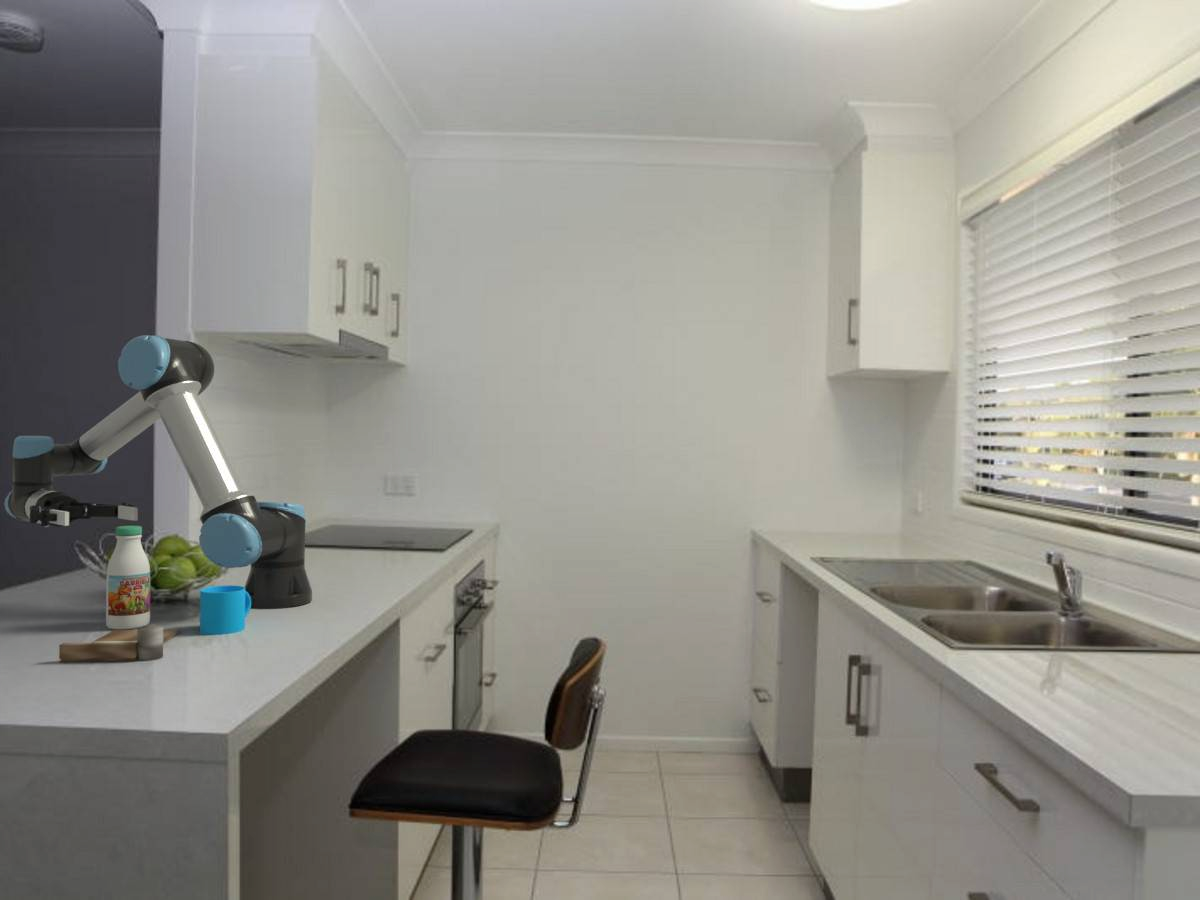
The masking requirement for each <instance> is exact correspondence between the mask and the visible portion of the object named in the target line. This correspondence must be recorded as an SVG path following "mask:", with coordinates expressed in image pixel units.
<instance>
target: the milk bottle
mask: <svg viewBox="0 0 1200 900" xmlns="http://www.w3.org/2000/svg"><path fill="white" fill-rule="evenodd" d="M142 534H143V527H142V526H140V525H124V526H123V525H122V526H121V525H120V526H117V527H116V528H115V539H116V544H115V548H114V550H113V553H112V554H111V556H110V558H109V561H108V563H107V567H106V569H107V570H106V580H105V583H106V587H105V588H106V589H105V626H106V628H107V629H108V630H109V629H110V630H135V629H139V628H142V627H148V626H149V624H150V622H151V567H150V562H149V558H148V556H147V554H146V552H145V551H144V549H143V545H142V541H141V539H142V537H143V535H142Z"/></svg>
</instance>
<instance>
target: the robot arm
mask: <svg viewBox="0 0 1200 900" xmlns="http://www.w3.org/2000/svg"><path fill="white" fill-rule="evenodd" d="M117 364H118V365H117V366H118V374H119V377H120V378H121V380H122V382H123V383H124V384H125V385H126V386H128V387H130V388H131V389H134V390H138V392H137V393H136V394H134V395H133V396H132V397H131V398H129V399H128V400H127V401H126V402H124V403H122V405H120V406H119V407H117V408H116V409H115V410H114V411H112V412H110V414H108V415H107V416H105V417H104V418H103V419H102V420H101V421H99V422H98V423H96V425H94V426H93V427H91V428H90V429H89V430H88V431H86V432H85V433H84V434H82V435H81V436H80V437H78V438H77V439H75V440H74V441H72V442H71V443H54V439H53V437H51V436H47V435H19V436H17V437H16V438H14V441H13V446H12V447H13V449H12V454H11V455H12V486H11V487H12V489H11V491H10V492H9V493H8V494H7V496H6V497H5V500H4V509H5V511H6V512H7V514H9V515H10V516H11V518H15V519H17V520H19V521H23V522H25V523H26V522H28V523H31V524H40V526H41V527H44V528H48V527H55V528H56V527H57V528H60V527H67V526H70V524H72V523H73V522H74V521H76V520H77V521H78V520H83V519H84V520H88V519H93V518H97V517H98V518H103V517H105V518H117V519H121V520H127V521H133V522H134V521H136V522H137V521H138V520H139V519H138V517H139V514H138V513H139V512H138V511H139V510H138V507H133V505H132V504H126V503H127V502H125V501H123V502H121V504H119V503H99V502H83V501H82V502H81V501H78V500H77V499H76V498H75V497H74V496H73V495H72V494H69V493H67V492H62V491H56V490H53V485H54V483H53V482H54V477H65V476H66V477H68V476H88V475H89V476H90V475H95V474H98V473H100V472H101V471H103V470H104V469H105V467H106V464H108V458H109V457H110V456H111V455H113V454H115V452H117V451H118V450H120V449H122V447H124V446H125V445H126V444H128V443H129V442H131V441H132V440H133V439H134V438H136V437H137V436H138V435H140V434H141V433H143V432H144V431H145V430H147V429H148V428H149V427H150V426H152V425H153V424H155V423H156V422H158V420H160V419H161V421H162V423H163V425H164V427H165V429H166V431H167V433H168V435H169V437H170V439H171V441H172V442H171V443H172V444H173V446H174V449H175V451H176V452H177V454H178V456H179V459H180V461H181V463H182V465H183V467H184V469H185V471H186V473H187V475H188V478H189V480H190V483H191V484H192V486H193V488H194V491H195V492H196V495H197V497H198V499H199V502H200V503H201V505H202V508H203V509H202V511H201V514H200V515H199V520H200V521H201V524H202V525H201V528H200V530H199V532H200V534H199V537H198V542H199V547H200V548H201V551H202V553H203V554H204V556H205V557H206V558H207V559H208V560H209V561H210V562H211V563H213V564H214V565H216V566H218V567H222V568H226V569H232V568H233V569H234V568H245V567H249V566H250V570H249V573H248V577H247V580H246V582H245V585H244V587H245V591H246V592H247V593H248V594H249V595H250V597H251V608H256V609H257V608H258V609H276V608H277V609H278V608H279V609H281V608H282V609H283V608H289V607H290V608H292V607H297V606H301V605H305V604H308V603H311V602H312V601H313V590H312V587H311V583H310V581H309V580H310V579H309V578H308V574H307V571H306V568H305V567H306V566H305V556H306V554H305V552H306V548H305V547H306V522H307V518H306V512H305V511H306V510H305V507H304V506H303V505H302V504H301V503H292V502H279V501H278V502H277V501H276V502H275V501H257V498H256V497H255V495H254V494H252V493H250V492H246V491H245V490H244V489H243V487H242V485H241V483H240V481H239V479H238V476H237V475H236V472H235V469H234V468H233V466H232V463H231V462H230V460H229V458H228V456H227V454H226V451H225V449H224V447H223V444H222V443H221V441H220V439H219V437H218V434H217V432H216V430H215V428H214V426H213V424H212V422H211V420H210V418H209V416H208V413H207V412H206V409H205V407H204V406H203V403H202V400H201V399H200V397H199V396H200V395H201V394H202V393H204V392H205V390H207V388H208V387H209V386H210V384H211V383H212V380H214V379H213V378H214V376H215V371H216V370H215V369H216V368H215V363H214V359H213V358H212V355H211V354H210V353H209V351H208V350H207V349H206V348H204V347H203V346H202V345H200V344H198V343H196V342H193V341H189V340H180V339H173V338H168V337H163V336H161V335H158V334H157V335H156V334H155V335H154V334H153V335H146V334H145V335H140V336H136V337H134V338H132V339H130V341H128V342H127V343H126V344H125V345H124V347H123V348H122V350H121V354H120V356H119V357H118V363H117Z"/></svg>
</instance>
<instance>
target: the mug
mask: <svg viewBox="0 0 1200 900" xmlns="http://www.w3.org/2000/svg"><path fill="white" fill-rule="evenodd" d="M199 593H200V595H199V599H200V600H199V601H200V602H199V604H200V605H199V632H200V634H204V635H211V636H212V635H213V636H217V635H218V636H221V635H230V634H236V633H239V632H242V631H244V630H245V628H246V617H247V616H248V614H249V613H250V610H251V608H252V607H251V597H250V595H249V594H248V593H247V592H246V591H245V586H243V585H242V586H241V585H234V584H233V585H232V584H231V585H214V586H208V587H204V588H201V589H200V591H199Z"/></svg>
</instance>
